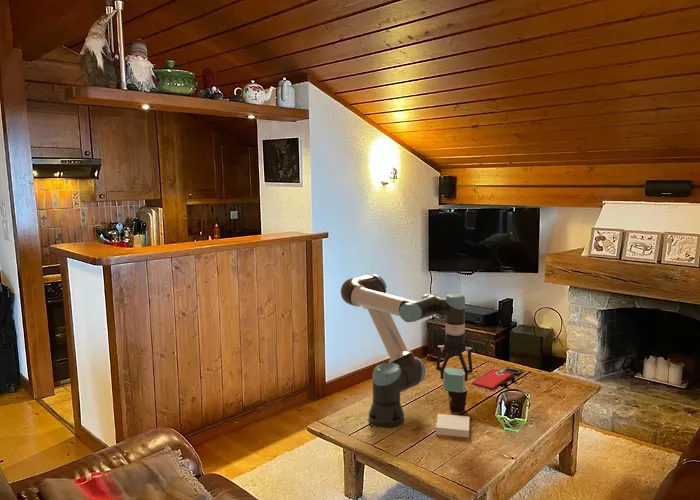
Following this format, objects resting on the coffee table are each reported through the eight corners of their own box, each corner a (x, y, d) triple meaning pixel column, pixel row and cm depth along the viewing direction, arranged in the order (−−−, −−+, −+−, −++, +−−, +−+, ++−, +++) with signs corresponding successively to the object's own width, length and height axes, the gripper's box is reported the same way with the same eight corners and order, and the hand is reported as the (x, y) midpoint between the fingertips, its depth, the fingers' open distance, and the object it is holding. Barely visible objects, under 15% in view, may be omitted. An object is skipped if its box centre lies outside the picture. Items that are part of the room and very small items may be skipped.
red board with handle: (526, 373, 279) (499, 366, 289) (526, 368, 279) (499, 361, 289) (500, 393, 257) (471, 385, 267) (500, 387, 257) (471, 380, 266)
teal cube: (444, 390, 217) (444, 374, 216) (445, 383, 224) (445, 367, 223) (462, 392, 216) (462, 375, 215) (462, 385, 222) (463, 369, 221)
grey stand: (435, 434, 219) (435, 427, 218) (437, 420, 230) (438, 413, 230) (468, 437, 216) (469, 430, 215) (469, 423, 227) (469, 416, 227)
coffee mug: (467, 414, 235) (467, 392, 233) (447, 413, 237) (447, 391, 235) (467, 403, 246) (467, 382, 244) (447, 401, 248) (448, 380, 246)
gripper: (428, 334, 215) (428, 389, 219) (480, 337, 210) (479, 393, 214) (430, 328, 222) (429, 381, 226) (480, 331, 217) (479, 385, 221)
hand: (453, 387), depth 220 cm, fingers closed on teal cube, 7 cm apart
